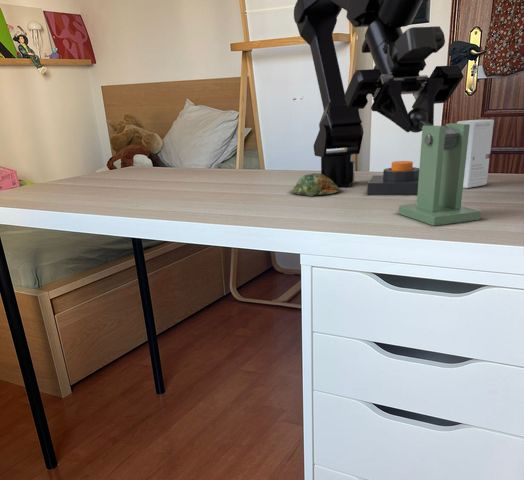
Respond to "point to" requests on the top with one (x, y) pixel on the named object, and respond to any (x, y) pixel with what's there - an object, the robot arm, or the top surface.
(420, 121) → the lever
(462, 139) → the bracket
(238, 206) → the top surface
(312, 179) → the green mottled dome
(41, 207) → the top surface
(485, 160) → the cosmetic box
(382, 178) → the button box
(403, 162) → the button
